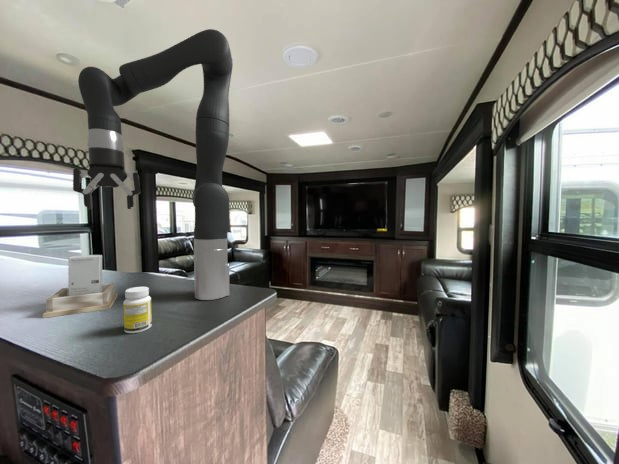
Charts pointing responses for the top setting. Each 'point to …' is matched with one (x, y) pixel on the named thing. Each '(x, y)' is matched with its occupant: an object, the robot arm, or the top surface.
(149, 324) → the supplement bottle
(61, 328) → the top surface
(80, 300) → the wooden tray
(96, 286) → the skincare box
